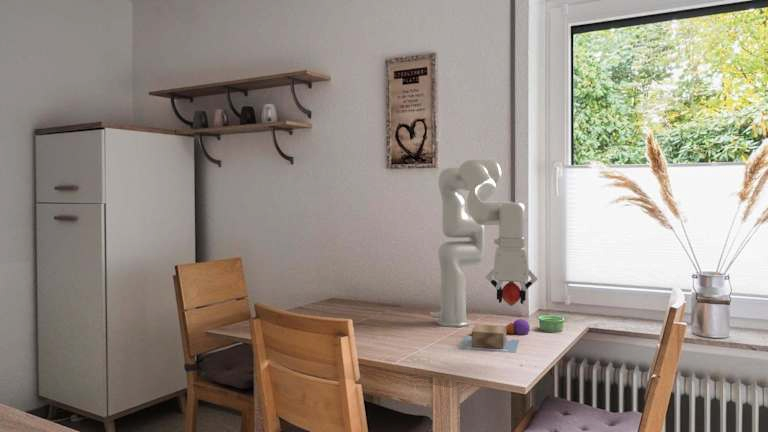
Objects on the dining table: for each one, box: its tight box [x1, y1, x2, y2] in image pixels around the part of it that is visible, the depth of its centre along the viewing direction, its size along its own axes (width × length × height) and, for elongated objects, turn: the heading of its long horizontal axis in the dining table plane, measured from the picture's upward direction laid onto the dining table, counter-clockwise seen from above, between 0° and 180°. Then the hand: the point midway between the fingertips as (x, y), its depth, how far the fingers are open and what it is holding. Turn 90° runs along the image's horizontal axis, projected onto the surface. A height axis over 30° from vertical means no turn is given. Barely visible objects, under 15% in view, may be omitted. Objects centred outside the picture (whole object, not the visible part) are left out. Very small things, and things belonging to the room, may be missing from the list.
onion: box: [502, 281, 521, 307], centre depth 176 cm, size 6×6×8 cm
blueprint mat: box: [457, 336, 520, 354], centre depth 189 cm, size 18×16×1 cm
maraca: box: [472, 318, 531, 336], centre depth 202 cm, size 6×6×20 cm
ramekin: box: [538, 315, 565, 333], centre depth 211 cm, size 9×9×4 cm
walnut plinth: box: [471, 324, 507, 349], centre depth 189 cm, size 10×10×5 cm
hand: (511, 301), depth 176 cm, fingers closed on onion, 5 cm apart
